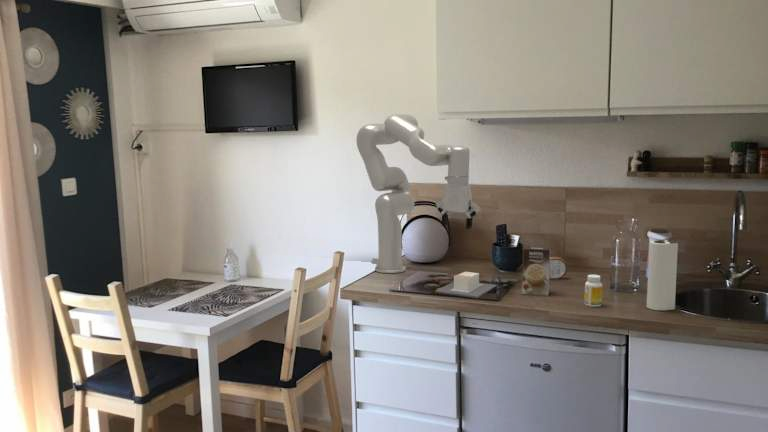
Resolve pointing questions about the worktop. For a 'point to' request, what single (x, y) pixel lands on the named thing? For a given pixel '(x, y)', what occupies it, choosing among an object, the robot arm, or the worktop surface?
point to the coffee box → (536, 270)
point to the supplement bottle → (593, 291)
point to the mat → (472, 293)
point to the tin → (557, 268)
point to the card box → (466, 281)
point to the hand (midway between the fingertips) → (456, 227)
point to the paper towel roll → (662, 275)
